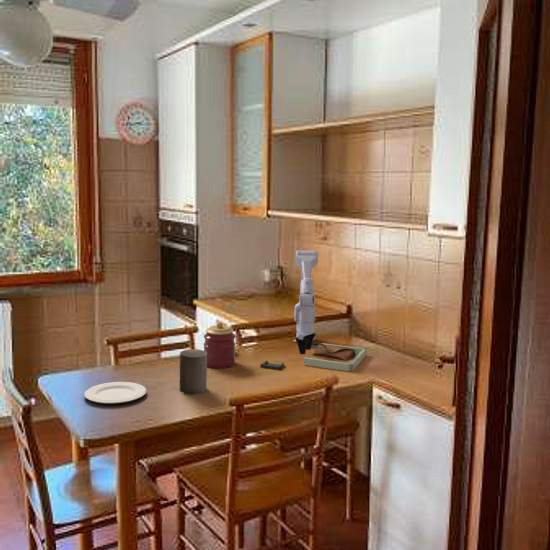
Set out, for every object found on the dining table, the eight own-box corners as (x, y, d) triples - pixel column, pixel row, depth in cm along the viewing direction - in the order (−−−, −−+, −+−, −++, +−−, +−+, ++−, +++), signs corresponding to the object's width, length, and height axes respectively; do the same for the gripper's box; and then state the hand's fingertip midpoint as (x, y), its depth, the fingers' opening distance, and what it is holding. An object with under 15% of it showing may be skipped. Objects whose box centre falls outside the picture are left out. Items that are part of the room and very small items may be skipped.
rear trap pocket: (306, 344, 281) (306, 341, 281) (323, 346, 278) (323, 343, 278) (303, 347, 277) (303, 344, 276) (319, 349, 274) (320, 346, 274)
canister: (215, 371, 240) (215, 327, 237) (197, 363, 249) (197, 321, 247) (241, 365, 248) (242, 322, 245) (223, 357, 258) (223, 316, 255)
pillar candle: (176, 393, 214) (177, 352, 212) (182, 384, 224) (183, 344, 221) (204, 395, 214) (204, 353, 211) (208, 385, 223) (209, 346, 221)
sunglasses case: (310, 354, 265) (313, 340, 267) (315, 359, 271) (319, 344, 273) (348, 361, 256) (352, 346, 258) (353, 365, 262) (356, 351, 264)
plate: (75, 393, 212) (75, 388, 212) (131, 382, 225) (131, 377, 224) (98, 412, 196) (98, 407, 196) (157, 399, 209) (157, 394, 208)
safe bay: (321, 349, 273) (322, 343, 273) (366, 355, 266) (366, 348, 265) (303, 365, 250) (304, 358, 249) (351, 371, 243) (352, 364, 242)
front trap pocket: (266, 363, 251) (266, 360, 251) (284, 365, 248) (284, 363, 248) (260, 367, 246) (260, 364, 245) (279, 370, 243) (279, 367, 243)
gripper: (302, 316, 268) (301, 346, 271) (291, 323, 255) (290, 354, 257) (318, 318, 266) (316, 348, 268) (307, 325, 253) (306, 357, 255)
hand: (305, 351), depth 262 cm, fingers open, 7 cm apart
